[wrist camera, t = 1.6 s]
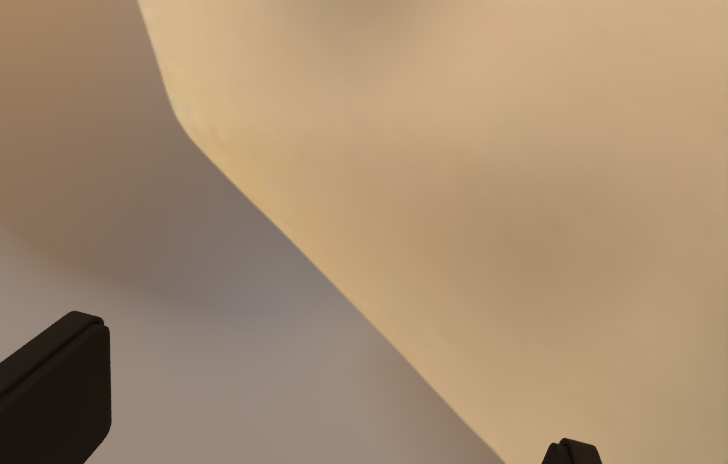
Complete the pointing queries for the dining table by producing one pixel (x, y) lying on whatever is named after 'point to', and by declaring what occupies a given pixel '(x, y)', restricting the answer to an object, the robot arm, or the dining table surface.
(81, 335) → the robot arm
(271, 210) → the dining table surface
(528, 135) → the dining table surface
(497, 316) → the dining table surface
